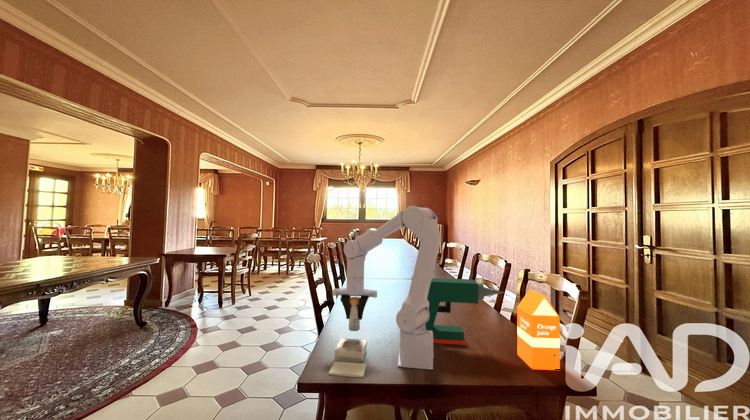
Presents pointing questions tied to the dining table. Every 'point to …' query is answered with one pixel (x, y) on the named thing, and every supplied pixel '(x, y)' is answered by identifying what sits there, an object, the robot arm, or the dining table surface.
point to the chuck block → (350, 350)
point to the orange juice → (538, 332)
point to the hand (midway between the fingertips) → (354, 318)
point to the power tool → (450, 293)
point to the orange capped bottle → (354, 314)
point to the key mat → (348, 369)
